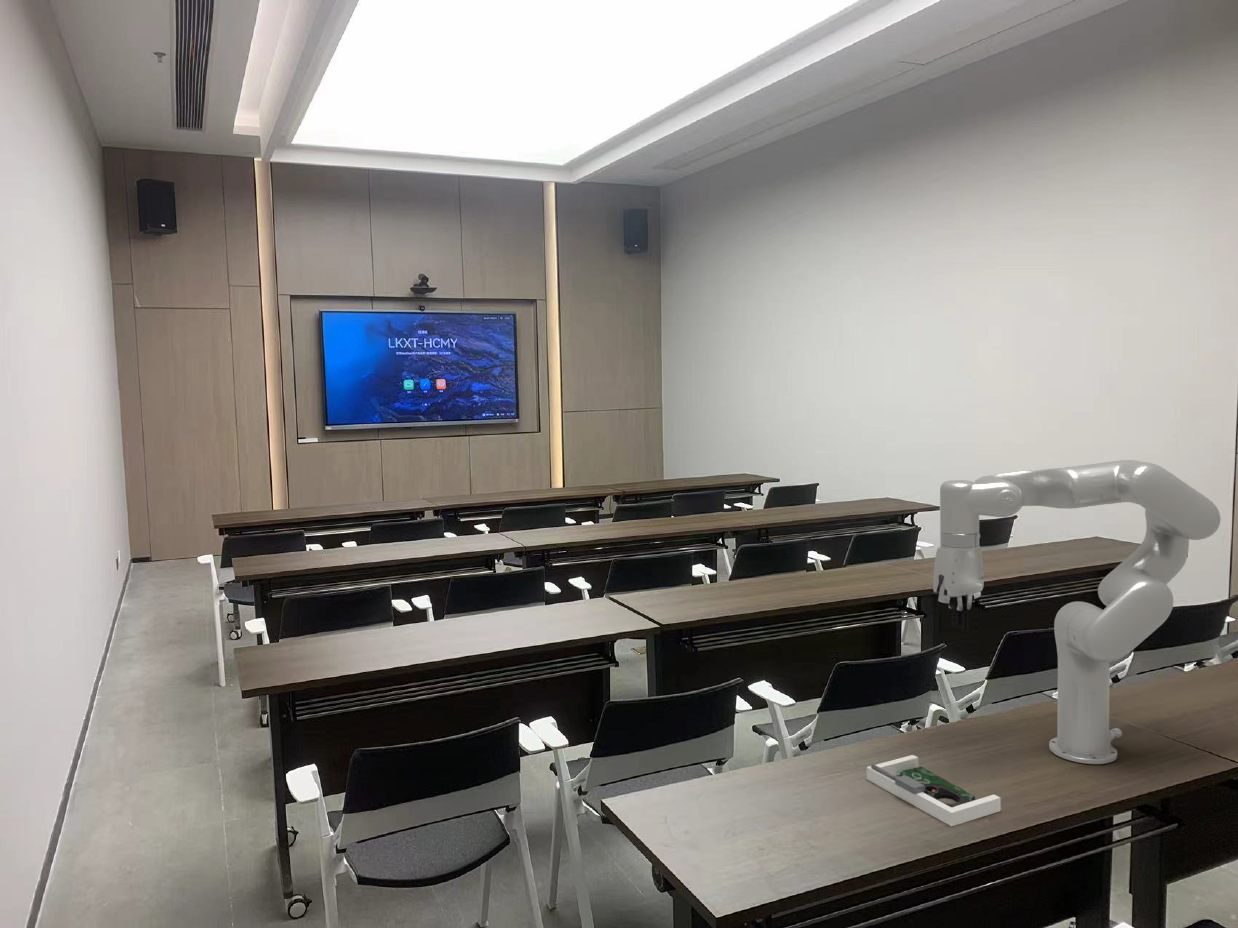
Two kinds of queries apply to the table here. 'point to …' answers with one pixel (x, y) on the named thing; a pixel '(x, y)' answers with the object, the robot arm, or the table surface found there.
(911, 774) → the gun
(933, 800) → the white angled bar
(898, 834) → the table surface
